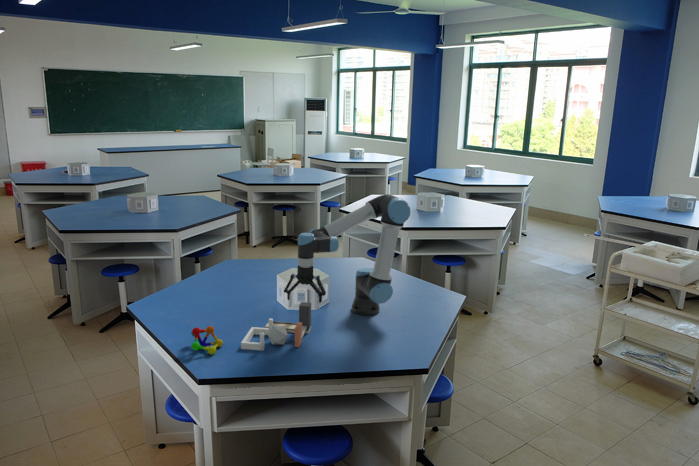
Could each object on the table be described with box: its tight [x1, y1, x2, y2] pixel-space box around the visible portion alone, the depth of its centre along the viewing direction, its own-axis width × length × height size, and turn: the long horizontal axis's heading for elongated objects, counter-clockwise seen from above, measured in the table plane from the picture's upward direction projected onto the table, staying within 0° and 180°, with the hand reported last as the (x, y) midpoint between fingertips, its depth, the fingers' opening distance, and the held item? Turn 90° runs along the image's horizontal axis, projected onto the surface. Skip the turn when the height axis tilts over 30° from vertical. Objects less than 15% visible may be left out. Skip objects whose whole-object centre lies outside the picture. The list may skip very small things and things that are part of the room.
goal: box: [240, 318, 274, 352], centre depth 239 cm, size 10×18×8 cm, turn 174°
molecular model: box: [190, 325, 224, 355], centre depth 230 cm, size 15×10×15 cm
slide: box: [263, 320, 312, 335], centre depth 254 cm, size 22×8×2 cm, turn 84°
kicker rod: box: [294, 301, 312, 348], centre depth 243 cm, size 5×22×13 cm, turn 174°
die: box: [267, 326, 289, 346], centre depth 238 cm, size 8×9×10 cm
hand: (304, 307), depth 250 cm, fingers open, 13 cm apart
